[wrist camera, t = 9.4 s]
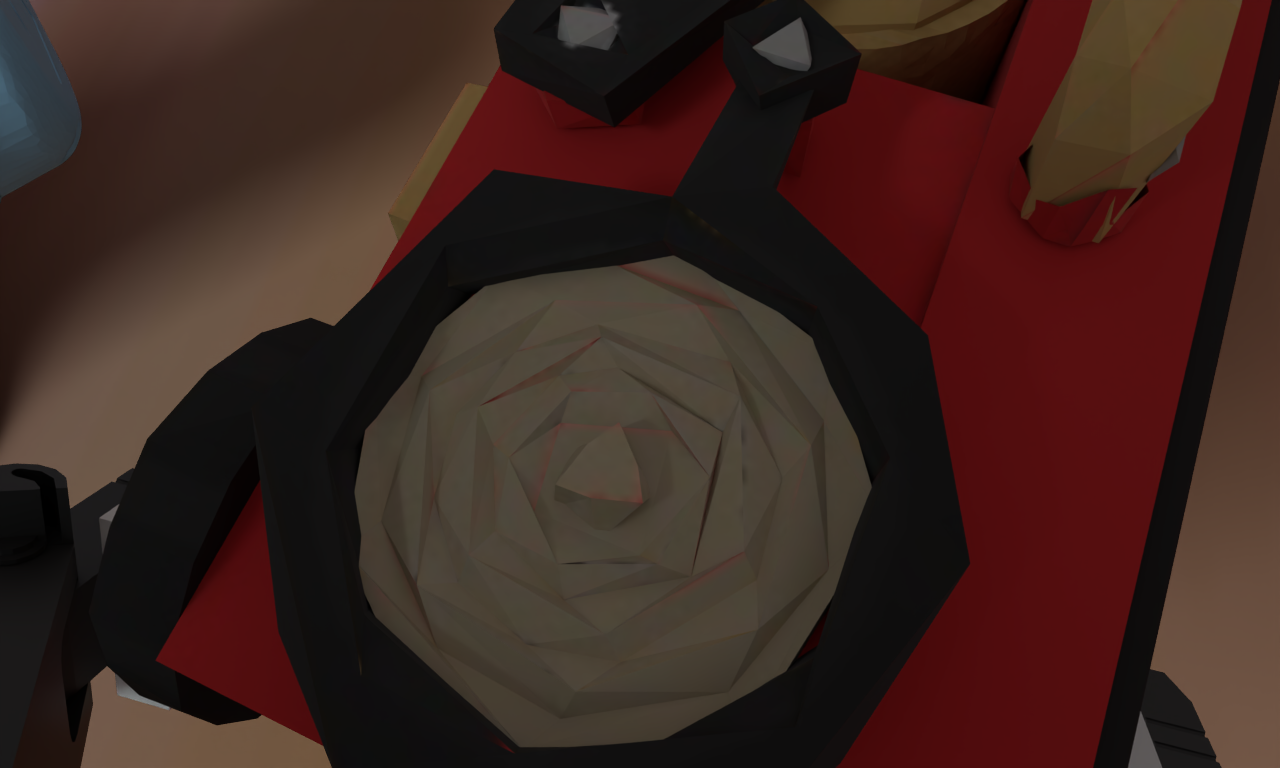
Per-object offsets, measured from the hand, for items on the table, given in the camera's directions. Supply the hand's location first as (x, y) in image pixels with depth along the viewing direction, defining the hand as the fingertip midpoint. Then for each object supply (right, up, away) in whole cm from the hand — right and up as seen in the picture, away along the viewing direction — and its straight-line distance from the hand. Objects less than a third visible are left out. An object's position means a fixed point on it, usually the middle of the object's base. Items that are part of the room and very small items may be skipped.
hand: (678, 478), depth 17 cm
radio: (+1, -3, +9) cm, 10 cm away
